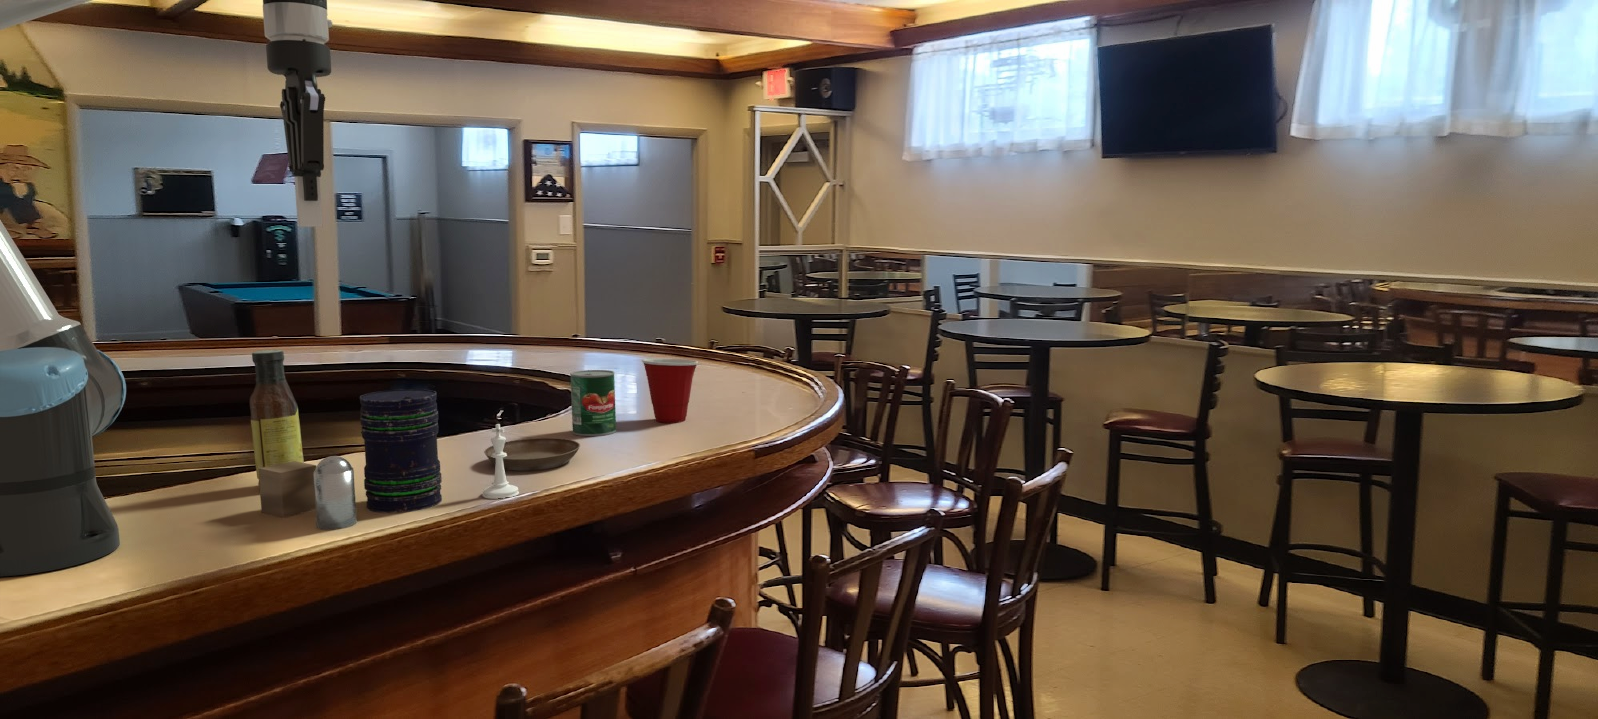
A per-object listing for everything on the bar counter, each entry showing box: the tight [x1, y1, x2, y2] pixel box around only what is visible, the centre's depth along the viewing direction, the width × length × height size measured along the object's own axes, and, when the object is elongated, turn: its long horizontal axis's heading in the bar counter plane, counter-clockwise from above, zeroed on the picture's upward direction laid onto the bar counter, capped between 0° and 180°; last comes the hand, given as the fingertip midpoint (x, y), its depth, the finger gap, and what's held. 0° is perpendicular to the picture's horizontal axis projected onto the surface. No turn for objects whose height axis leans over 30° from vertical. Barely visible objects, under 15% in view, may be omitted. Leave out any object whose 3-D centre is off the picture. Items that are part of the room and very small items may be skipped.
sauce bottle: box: [249, 349, 305, 488], centre depth 150 cm, size 7×6×20 cm
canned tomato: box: [569, 369, 617, 437], centre depth 189 cm, size 8×8×11 cm
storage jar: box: [359, 388, 443, 514], centre depth 141 cm, size 10×10×15 cm
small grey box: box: [258, 461, 317, 519], centre depth 138 cm, size 5×5×6 cm
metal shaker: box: [313, 455, 358, 531], centre depth 131 cm, size 5×5×9 cm
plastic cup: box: [641, 358, 699, 424], centre depth 200 cm, size 11×11×12 cm
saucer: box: [483, 437, 581, 472], centre depth 166 cm, size 15×15×3 cm
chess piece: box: [482, 423, 520, 500], centre depth 145 cm, size 5×5×10 cm
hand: (310, 226), depth 138 cm, fingers closed
